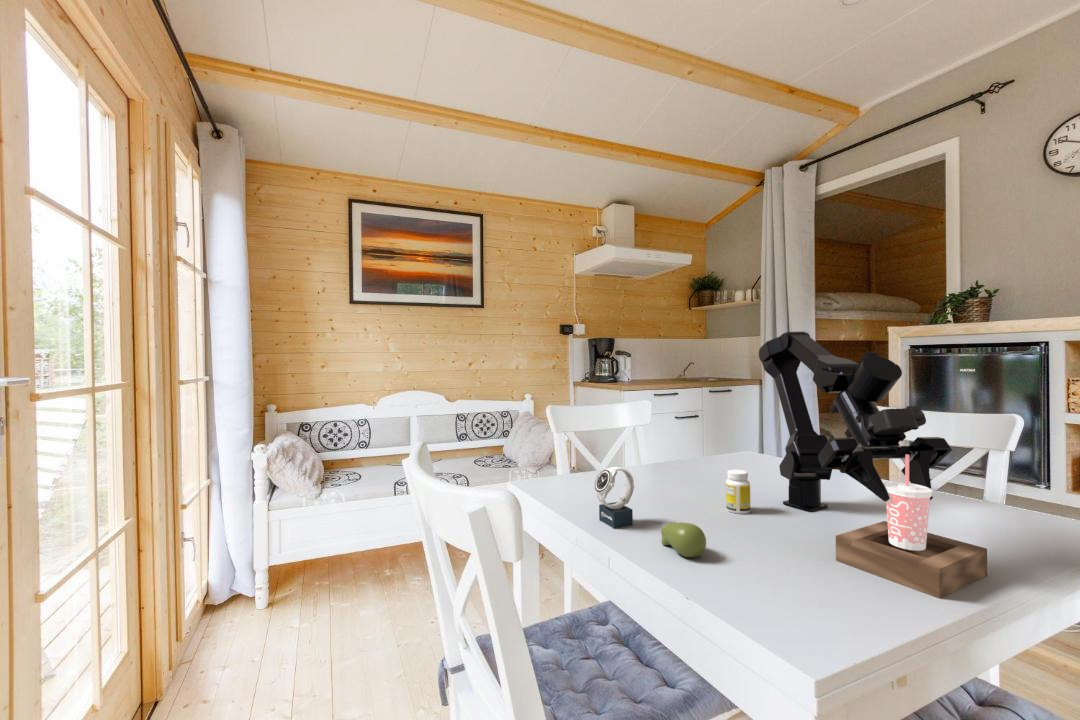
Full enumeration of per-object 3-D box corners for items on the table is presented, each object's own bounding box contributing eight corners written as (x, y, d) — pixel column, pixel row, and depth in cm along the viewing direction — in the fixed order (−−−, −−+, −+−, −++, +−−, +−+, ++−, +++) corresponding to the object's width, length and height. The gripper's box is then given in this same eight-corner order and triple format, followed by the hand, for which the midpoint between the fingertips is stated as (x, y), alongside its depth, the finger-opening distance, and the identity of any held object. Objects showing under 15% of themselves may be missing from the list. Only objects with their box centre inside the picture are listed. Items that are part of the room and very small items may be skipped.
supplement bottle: (750, 508, 104) (750, 470, 104) (750, 515, 100) (749, 475, 100) (727, 506, 106) (726, 468, 106) (725, 512, 102) (724, 473, 102)
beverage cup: (873, 537, 78) (873, 450, 78) (910, 536, 78) (910, 450, 78) (903, 553, 72) (903, 459, 72) (943, 552, 72) (943, 458, 72)
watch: (590, 521, 98) (590, 467, 98) (624, 515, 101) (623, 463, 101) (605, 530, 93) (604, 473, 93) (640, 524, 96) (639, 468, 96)
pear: (680, 528, 78) (651, 519, 88) (684, 563, 77) (654, 549, 87) (711, 524, 79) (679, 515, 89) (715, 558, 79) (682, 546, 88)
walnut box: (884, 543, 84) (884, 520, 84) (987, 575, 72) (987, 548, 72) (835, 560, 78) (835, 535, 78) (939, 598, 65) (939, 568, 65)
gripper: (827, 389, 80) (871, 473, 69) (942, 388, 79) (1005, 472, 69) (802, 429, 88) (838, 509, 77) (907, 428, 87) (958, 509, 77)
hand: (908, 500), depth 75 cm, fingers closed on beverage cup, 6 cm apart
